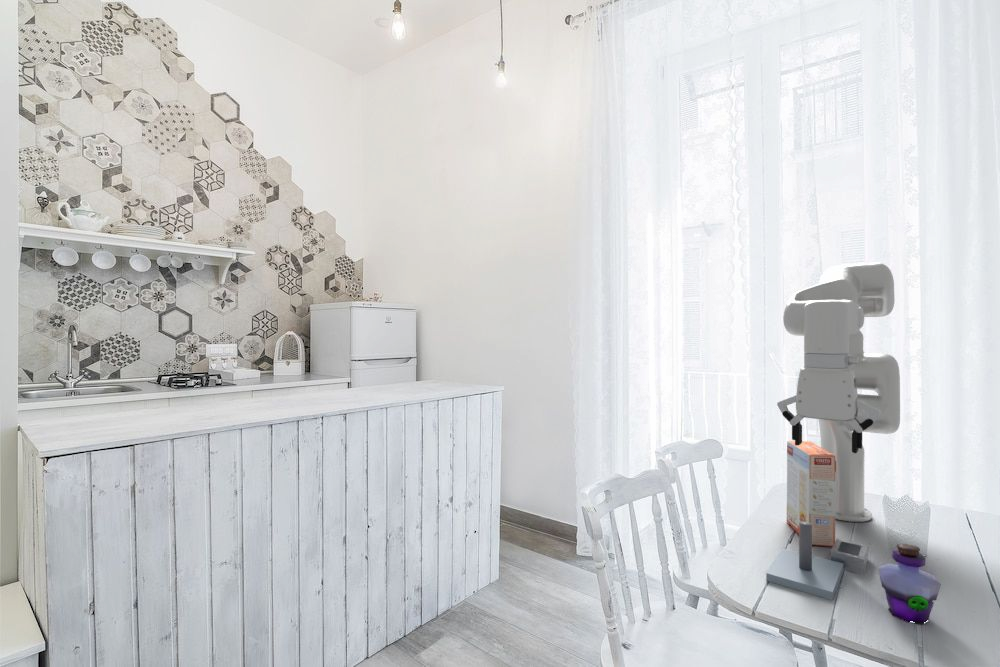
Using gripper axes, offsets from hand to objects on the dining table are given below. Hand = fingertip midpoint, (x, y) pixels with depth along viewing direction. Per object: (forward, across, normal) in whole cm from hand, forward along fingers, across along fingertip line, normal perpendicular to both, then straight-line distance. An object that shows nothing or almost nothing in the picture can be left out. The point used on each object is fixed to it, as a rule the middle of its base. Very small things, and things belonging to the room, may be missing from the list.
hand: (825, 447), depth 101 cm
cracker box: (+26, +6, -20) cm, 33 cm away
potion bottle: (+26, -13, +7) cm, 30 cm away
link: (+26, -3, -9) cm, 27 cm away
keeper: (+26, +3, +3) cm, 26 cm away
